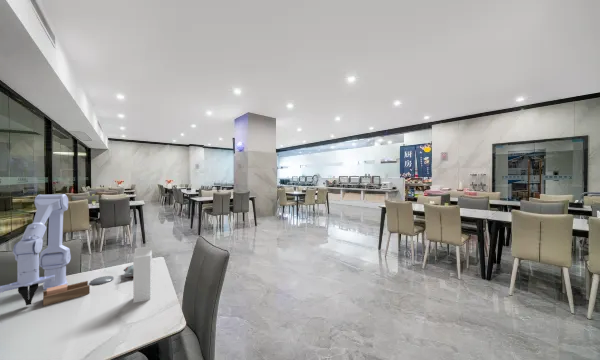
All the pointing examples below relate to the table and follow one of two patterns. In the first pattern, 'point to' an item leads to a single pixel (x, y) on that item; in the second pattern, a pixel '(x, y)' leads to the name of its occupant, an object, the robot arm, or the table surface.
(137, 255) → the milk
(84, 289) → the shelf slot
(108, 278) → the coaster
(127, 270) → the packaged food
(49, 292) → the block
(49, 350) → the table surface
